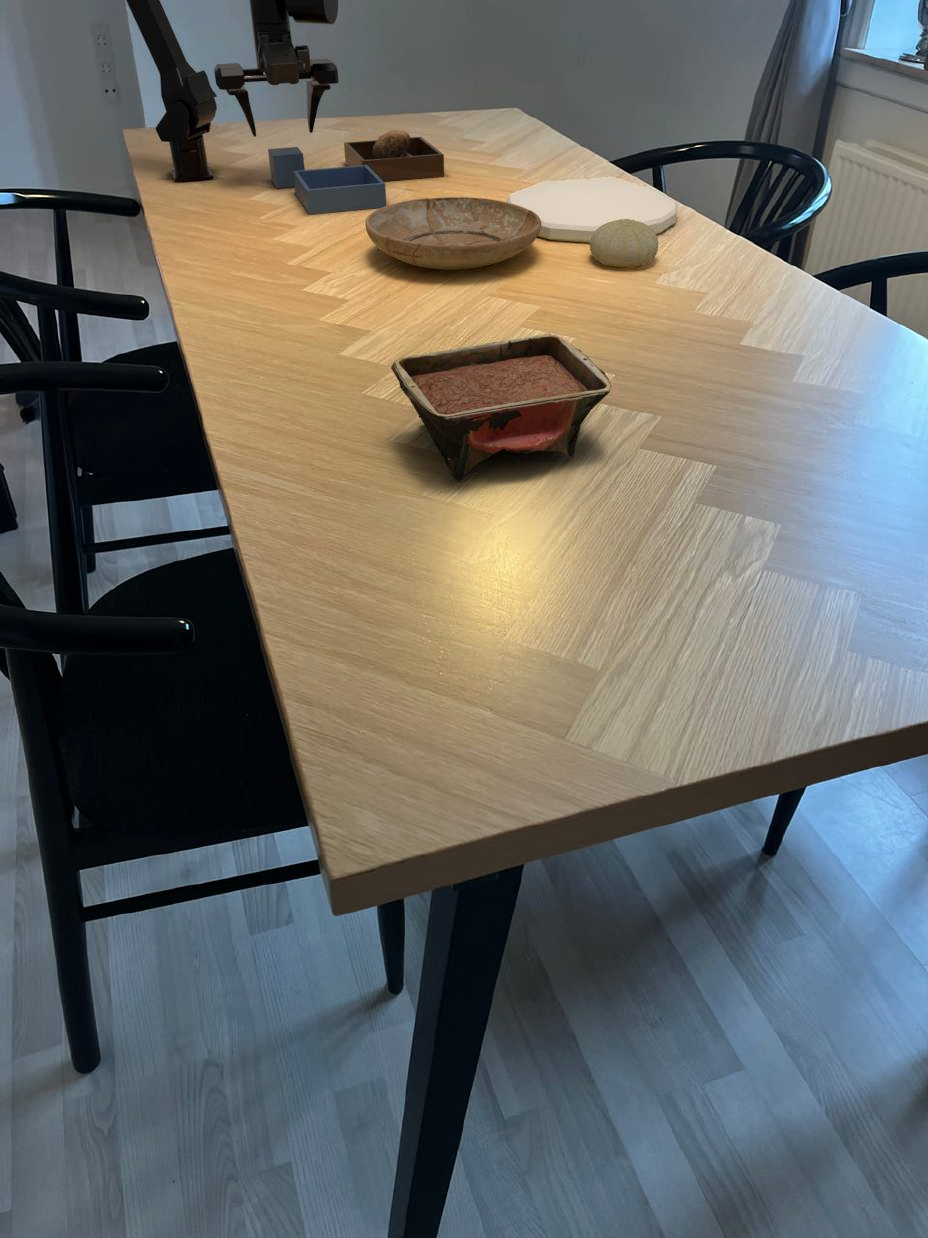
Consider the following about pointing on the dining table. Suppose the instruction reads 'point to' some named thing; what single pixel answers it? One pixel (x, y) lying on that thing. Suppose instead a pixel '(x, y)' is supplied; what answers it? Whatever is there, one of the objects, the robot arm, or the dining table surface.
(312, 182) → the blue bin
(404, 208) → the ceramic bowl
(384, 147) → the mushroom
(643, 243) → the sea urchin shell
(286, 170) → the blue block
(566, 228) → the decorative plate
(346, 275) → the dining table surface
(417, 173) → the walnut bin
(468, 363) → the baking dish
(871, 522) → the dining table surface
